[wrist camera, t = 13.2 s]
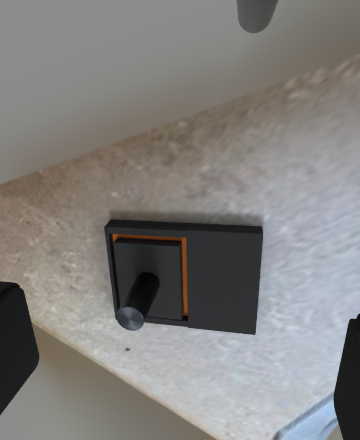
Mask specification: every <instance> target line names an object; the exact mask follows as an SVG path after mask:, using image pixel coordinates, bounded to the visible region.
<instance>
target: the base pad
mask: <svg viewBox="0 0 360 440" xmlns="http://www.w3.org/2000/svg"><path fill="white" fill-rule="evenodd" d="M104 228H105V236H106V244H107V252H108V261H109V269H110V277H111V285H112V294H113V302H114V310H115V318H116V314H117V311H118V310H119V308H120V299H119V290H118V281H117V273H116V264H115V255H114V246H113V242H114V241H115V240H116V239H117V238H118V237H123V238H141V239H158V240H176V241H182V270H183V308H184V313H183V316H182V320H176V319H166V318H156V317H146V319H145V322H146V323H155V324H165V325H174V326H184V327H188V328H196V329H205V330H214V331H224V332H233V333H243V334H252V335H255V333H256V320H257V307H258V294H259V281H260V267H261V254H262V241H263V230H262V227H255V226H234V225H212V224H191V223H169V222H148V221H126V220H110V221H109V222H108V224H107V225H106V226H105V227H104ZM116 320H117V318H116Z"/></svg>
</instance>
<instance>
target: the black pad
mask: <svg viewBox="0 0 360 440" xmlns="http://www.w3.org/2000/svg"><path fill="white" fill-rule="evenodd" d="M113 246H114V255H115V264H116V273H117V281H118V290H119V299H120V308H119V310H118V311H117V314H116V318H117V321H118V323H119V324H120V325H121V326H122V327H123V328H125V329H127V330H138V329H140V328H141V327H142V326H143V324H144V322H145V319H146V317H156V318H166V319H176V320H182V316H183V313H184V308H183V270H182V241H176V240H158V239H141V238H123V237H118V238H117V239H116V240H115V241H114V242H113Z"/></svg>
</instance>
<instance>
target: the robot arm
mask: <svg viewBox="0 0 360 440" xmlns="http://www.w3.org/2000/svg"><path fill="white" fill-rule="evenodd" d="M38 361H39V352H38V348H37V344H36V340H35V336H34V331H33V327H32V323H31V319H30V315H29V311H28V306H27V302H26V298H25V294H24V291H23V289H21V288H20V286H19V285H18V284H17V283H13V282H1V281H0V415H1V413H2V412H3V411H4V409H5V408H6V407H7V405H8V404H9V403H10V402H11V400H12V399H13V398H14V396H15V395H16V394H17V392H18V391H19V390H20V388H21V387H22V386H23V384H24V383H25V382H26V380H27V379H28V378H29V376H30V375H31V374H32V372H33V371H34V370H35V368H36V367H37V365H38ZM334 408H335V412H336V416H337V419H338V423H339V426H340V430H341V433H342V437H343V440H360V314H358V316H357V318H356V319H350V320H349V324H348V328H347V333H346V338H345V343H344V348H343V353H342V358H341V362H340V367H339V372H338V377H337V382H336V387H335V392H334Z"/></svg>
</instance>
